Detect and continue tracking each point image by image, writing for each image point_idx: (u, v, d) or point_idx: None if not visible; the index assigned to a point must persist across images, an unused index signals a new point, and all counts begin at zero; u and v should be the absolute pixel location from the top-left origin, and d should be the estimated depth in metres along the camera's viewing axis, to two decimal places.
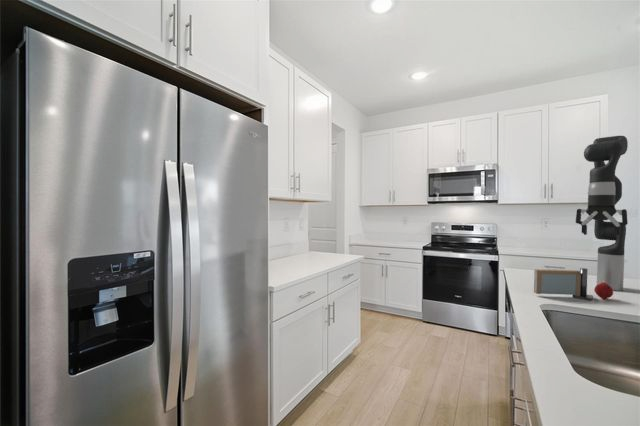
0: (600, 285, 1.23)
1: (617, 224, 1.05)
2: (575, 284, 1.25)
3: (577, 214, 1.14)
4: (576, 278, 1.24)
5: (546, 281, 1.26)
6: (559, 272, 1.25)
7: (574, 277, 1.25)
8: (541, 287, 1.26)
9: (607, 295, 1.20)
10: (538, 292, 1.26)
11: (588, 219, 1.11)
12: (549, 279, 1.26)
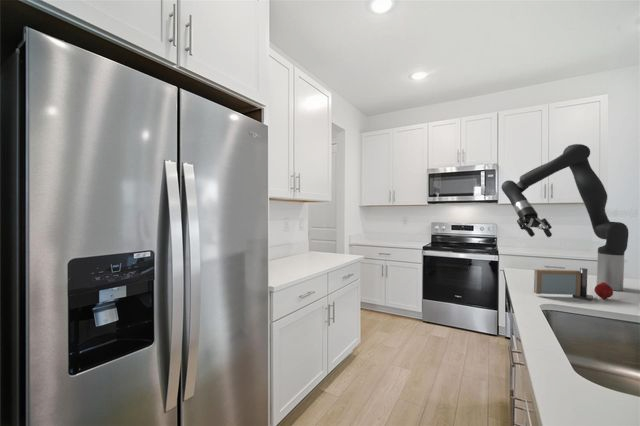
0: (600, 285, 1.23)
1: None
2: (575, 284, 1.25)
3: None
4: (576, 278, 1.24)
5: (546, 281, 1.26)
6: (559, 272, 1.25)
7: (574, 277, 1.25)
8: (541, 287, 1.26)
9: (607, 295, 1.20)
10: (538, 292, 1.26)
11: None
12: (549, 279, 1.26)
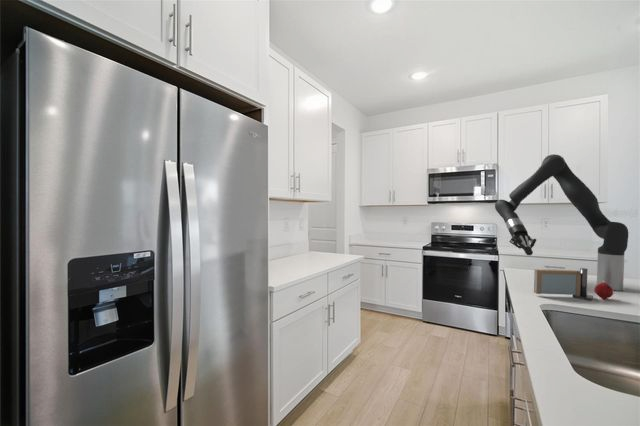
0: (600, 285, 1.23)
1: None
2: (575, 284, 1.25)
3: None
4: (576, 278, 1.24)
5: (546, 281, 1.26)
6: (559, 272, 1.25)
7: (574, 277, 1.25)
8: (541, 287, 1.26)
9: (607, 295, 1.20)
10: (538, 292, 1.26)
11: None
12: (549, 279, 1.26)
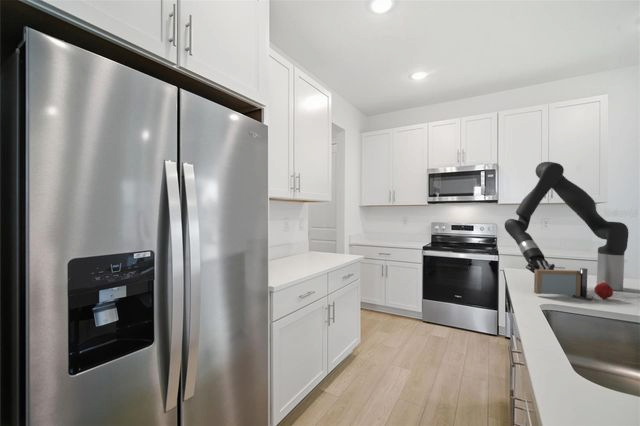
0: (600, 285, 1.23)
1: None
2: (575, 284, 1.25)
3: None
4: (576, 278, 1.24)
5: (546, 281, 1.26)
6: (559, 272, 1.25)
7: (574, 277, 1.25)
8: (541, 287, 1.26)
9: (607, 295, 1.20)
10: (538, 292, 1.26)
11: None
12: (549, 279, 1.25)
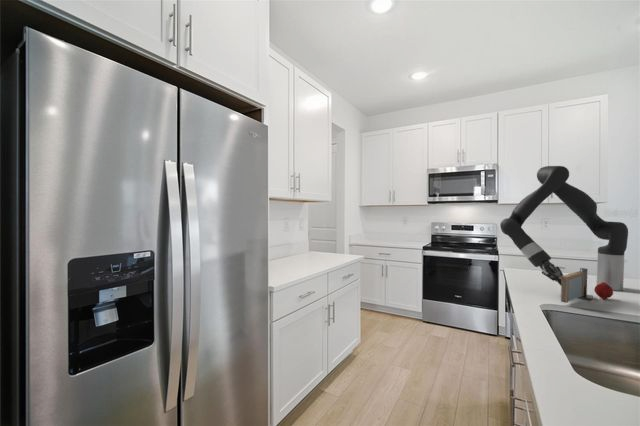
0: (600, 285, 1.23)
1: None
2: (581, 285, 1.22)
3: None
4: (582, 279, 1.22)
5: (570, 287, 1.17)
6: (576, 276, 1.19)
7: (581, 278, 1.22)
8: None
9: (607, 295, 1.20)
10: (567, 301, 1.15)
11: None
12: (571, 285, 1.17)
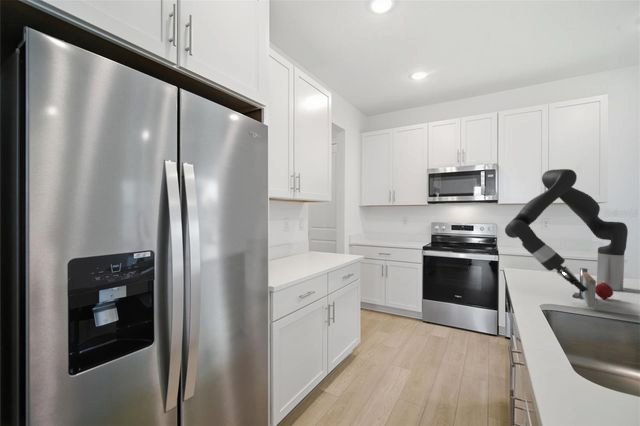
0: (600, 285, 1.23)
1: None
2: None
3: None
4: None
5: None
6: None
7: None
8: None
9: (607, 295, 1.20)
10: (594, 306, 1.09)
11: None
12: None
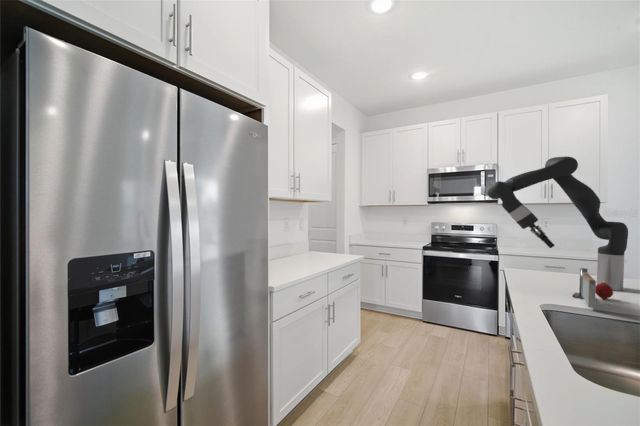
0: (600, 285, 1.23)
1: None
2: None
3: None
4: None
5: None
6: None
7: None
8: None
9: (607, 295, 1.20)
10: (594, 306, 1.09)
11: None
12: None
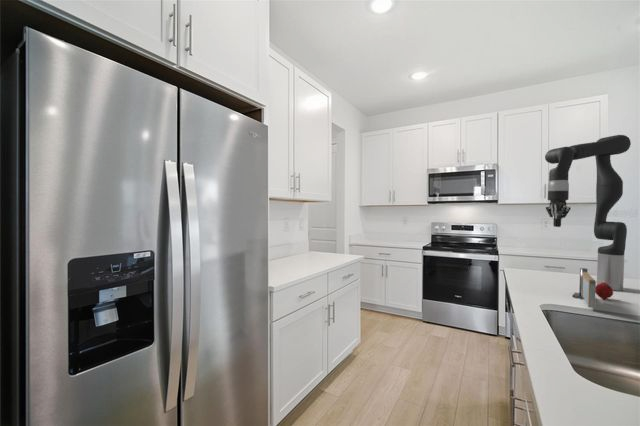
0: (600, 285, 1.23)
1: (555, 217, 1.32)
2: None
3: (547, 211, 1.38)
4: None
5: None
6: None
7: None
8: None
9: (607, 295, 1.20)
10: (594, 306, 1.09)
11: (552, 212, 1.34)
12: None
